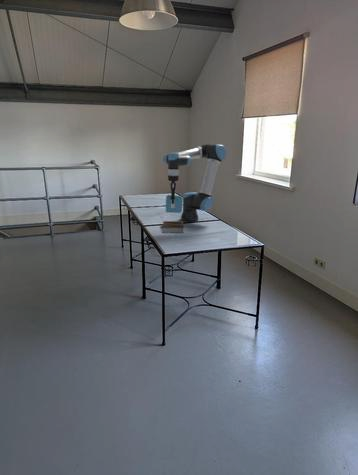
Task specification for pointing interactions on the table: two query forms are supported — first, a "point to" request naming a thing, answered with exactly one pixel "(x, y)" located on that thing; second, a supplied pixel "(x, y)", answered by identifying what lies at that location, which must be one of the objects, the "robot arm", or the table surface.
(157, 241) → the table surface
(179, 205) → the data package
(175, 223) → the walnut box
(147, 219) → the table surface
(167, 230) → the charcoal mat
